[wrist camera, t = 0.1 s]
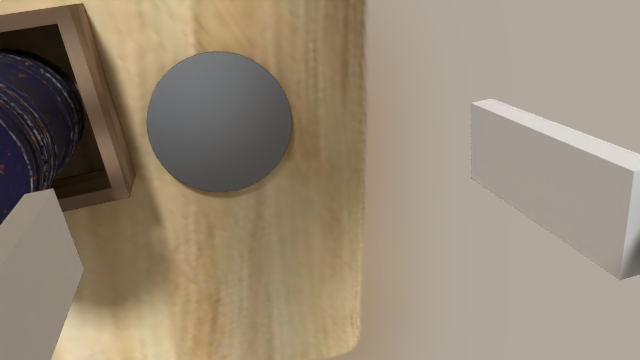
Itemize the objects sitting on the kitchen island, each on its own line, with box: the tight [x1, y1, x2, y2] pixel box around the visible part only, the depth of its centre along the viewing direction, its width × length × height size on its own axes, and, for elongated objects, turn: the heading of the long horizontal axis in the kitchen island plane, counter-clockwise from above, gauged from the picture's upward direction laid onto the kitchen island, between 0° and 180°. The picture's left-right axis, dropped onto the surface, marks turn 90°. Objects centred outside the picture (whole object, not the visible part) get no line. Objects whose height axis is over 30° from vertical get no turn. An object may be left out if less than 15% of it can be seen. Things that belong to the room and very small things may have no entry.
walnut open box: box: [0, 3, 136, 212], centre depth 36 cm, size 14×14×5 cm
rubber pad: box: [147, 52, 292, 192], centre depth 42 cm, size 12×12×1 cm
